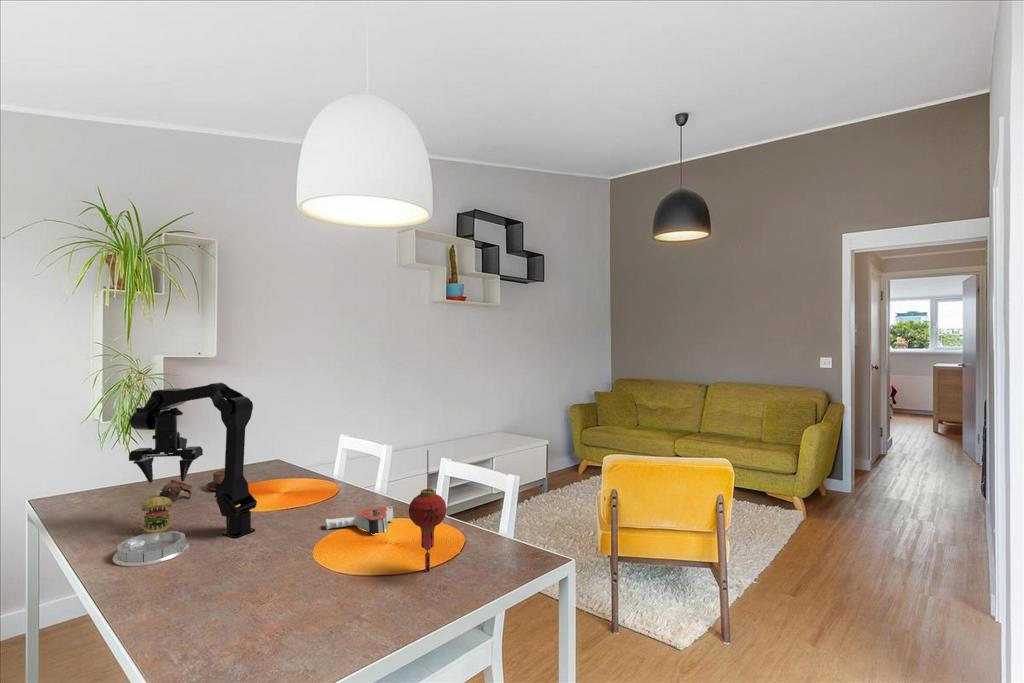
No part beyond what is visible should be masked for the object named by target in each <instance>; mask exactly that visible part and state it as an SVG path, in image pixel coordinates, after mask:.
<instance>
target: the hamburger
mask: <svg viewBox="0 0 1024 683" xmlns="http://www.w3.org/2000/svg"><path fill="white" fill-rule="evenodd" d="M160 492H162V491H161V490H159V489H156V495H158V494H160ZM173 504H174V503H173V502H172V501H171V499H169V498H167V497H159V496H155V497H151V498H148V499H147V500H145V501H144V502H143V503H142V505H141V508H140V509H141V512H145V514H144V515H143V518H144V520H143V523H144V524H143V526H142V528H143V530H144V532H145V534H147V533H153V532H159V531H169V529H170V527H171V525H172V522H171V520H170V518H171V516H170V515H171V513H172V512H171V511H169V509H170V508H171V507H173Z"/></svg>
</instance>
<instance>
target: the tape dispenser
mask: <svg viewBox="0 0 1024 683" xmlns="http://www.w3.org/2000/svg"><path fill="white" fill-rule="evenodd" d="M371 511H372V513H370V512H371ZM393 520H394V510H393V506H392V505H390V506H382V507H380V506H379V507H374V508H372V507H370V508H365V509H359V510H357V513H356V515H355V516H352V517H339V518H333V519H332V518H331V519H329V518H326V519H325V521H324V522H325V529H326V530H327V531H328V530H329V529H335V528H336V529H337V528H338V529H339V528H344V527H349V526H356V527H357V528H358V527H359V528H361V529H364V530H366V531H368V532H367V533H369V534H370V533H372V534H375V533H382V532H383V533H385V531H386V530H388V531H389V529H388V528H389V527H388V525H389V523H388V522H390V521H393Z"/></svg>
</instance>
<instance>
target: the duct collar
mask: <svg viewBox="0 0 1024 683" xmlns="http://www.w3.org/2000/svg"><path fill="white" fill-rule="evenodd" d="M189 548H190V543H189V541H187V540H186V535H185V533H184V532H180V531H177V530H167V531H159V532H153V533H143V534H140V535H136V536H132V537H130V538H128V539H125V540H124V541H122V542H121V543H119V544H117V549H116V553H114V554H113V556H112V563H113V564H114V565H116V566H120V567H127V568H129V567H131V568H132V567H144V566H151V565H156V564H157V565H158V564H160V562H161V563H164V562H168V561H170V560H173V559H175V558H178V557H180V556H182V555H184V554H185V553H186V552H188V550H189Z"/></svg>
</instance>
